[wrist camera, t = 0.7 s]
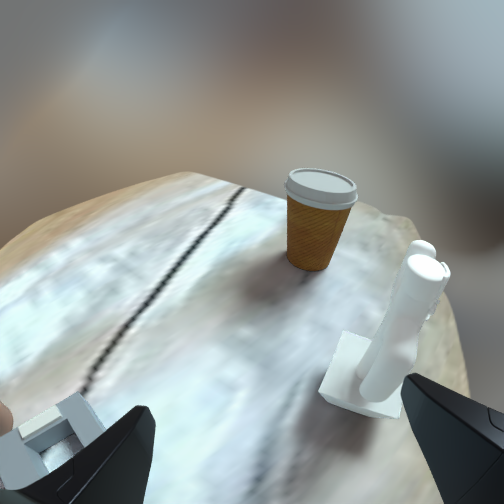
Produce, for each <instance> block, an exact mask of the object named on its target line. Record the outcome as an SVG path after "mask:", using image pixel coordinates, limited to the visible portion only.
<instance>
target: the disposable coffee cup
mask: <svg viewBox="0 0 504 504" xmlns="http://www.w3.org/2000/svg"><path fill="white" fill-rule="evenodd" d="M284 187H285V189H286V193H287V258H288V260H289V261H290V262H291V263H292V264H293V265H294V266H296V267H298V268H300V269H303V270H308V271H319V270H322V269H324V268H326V267H327V266H328V265H329V263H330V260H331V258H332V255H333V253H334V251H335V248H336V246H337V243H338V241H339V238H340V236H341V233H342V231H343V228H344V226H345V223H346V221H347V218H348V216H349V213H350V210H351V207H352V206H353V205H354V204H355V202H356V201H357V199H358V195H357V193H356V184H355V183H354V182H353V181H351V180H350V179H349V178H347V177H345V176H343V175H341V174H338V173H334V172H331V171H327V170H322V169H314V168H302V169H296V170H293V171H291V172H290V174H289V176H288V179H287V180H286V181H285V183H284Z"/></svg>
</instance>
